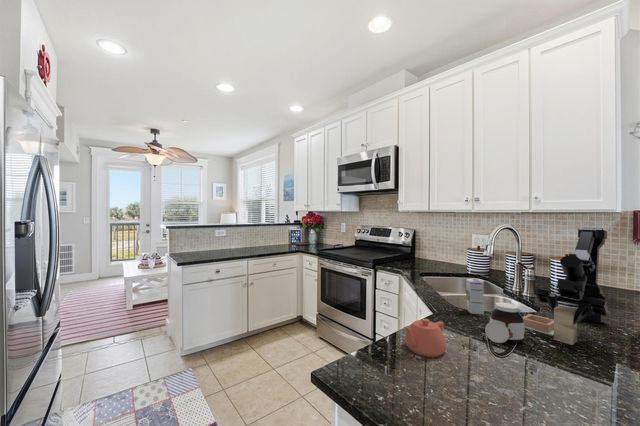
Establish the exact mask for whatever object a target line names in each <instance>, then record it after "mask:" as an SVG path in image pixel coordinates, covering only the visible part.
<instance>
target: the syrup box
mask: <svg viewBox="0 0 640 426" xmlns="http://www.w3.org/2000/svg"><path fill="white" fill-rule="evenodd" d="M465 281H466V282H465V289H466V291H465V295H466V296H465V297H466V298H465V299H466V301H465V303H466V304H465V307H466V308H465V309H466V311H467V312H468V313H469V314H471V315H484V313H485V312H484V310H485V309H484V306H485V305H484V281H482V280H481V279H479V278H466V279H465Z"/></svg>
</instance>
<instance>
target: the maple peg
mask: <svg viewBox="0 0 640 426" xmlns="http://www.w3.org/2000/svg"><path fill="white" fill-rule="evenodd" d="M576 312H577V309H576V308H571V307H568V306H567V307H566V306H561V305H559V306H557V307H555V308H554V318H553V320H554V335H553V340H554V341H558V342H561V343H564V344H567V345H571V346H573V345H574V344H576V343H577V342H578V322H577V323H576V324H574V323H573V321H574V317H575V314H576Z"/></svg>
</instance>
